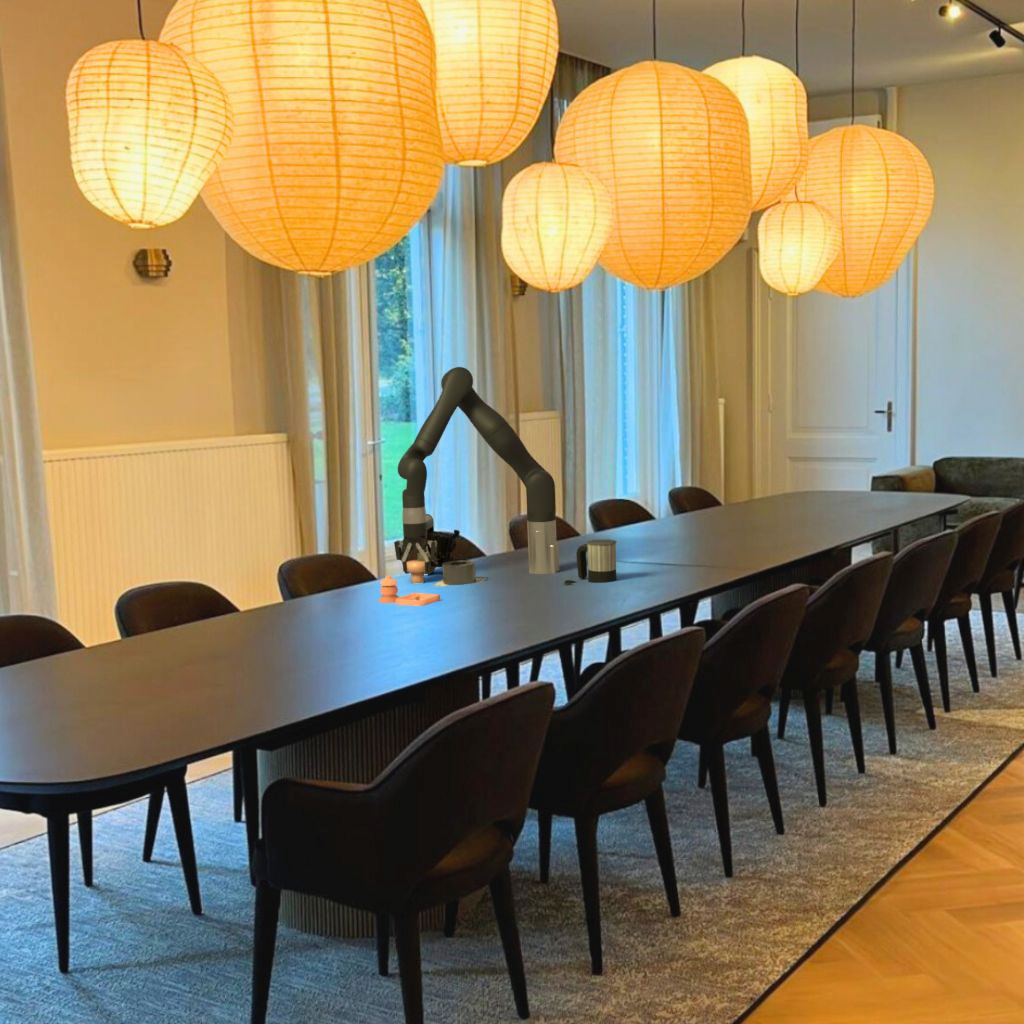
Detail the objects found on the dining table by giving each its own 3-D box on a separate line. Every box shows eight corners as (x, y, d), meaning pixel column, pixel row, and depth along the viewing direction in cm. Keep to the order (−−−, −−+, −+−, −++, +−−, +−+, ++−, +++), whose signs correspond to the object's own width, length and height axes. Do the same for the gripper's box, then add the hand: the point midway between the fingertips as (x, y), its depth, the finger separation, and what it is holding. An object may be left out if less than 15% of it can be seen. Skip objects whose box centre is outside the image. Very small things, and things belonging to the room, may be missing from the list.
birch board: (487, 582, 419) (487, 578, 419) (474, 591, 405) (474, 586, 405) (445, 582, 423) (445, 577, 422) (431, 590, 409) (431, 586, 409)
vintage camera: (463, 577, 430) (460, 517, 428) (418, 577, 433) (414, 517, 431) (470, 572, 440) (467, 513, 437) (425, 572, 443) (422, 513, 440)
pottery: (440, 608, 382) (439, 575, 381) (421, 615, 375) (420, 581, 373) (390, 604, 392) (389, 571, 391) (371, 610, 384) (369, 577, 383)
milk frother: (622, 587, 403) (621, 539, 401) (603, 597, 389) (602, 547, 387) (579, 585, 409) (578, 537, 407) (559, 594, 395) (557, 546, 393)
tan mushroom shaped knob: (430, 584, 420) (429, 559, 419) (424, 588, 414) (422, 563, 413) (412, 584, 422) (410, 559, 421) (405, 588, 416) (403, 563, 415)
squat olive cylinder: (479, 579, 417) (478, 560, 416) (469, 585, 408) (469, 566, 407) (449, 578, 420) (448, 560, 419) (439, 584, 411) (438, 565, 410)
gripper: (440, 519, 417) (442, 571, 419) (397, 519, 421) (400, 570, 423) (432, 522, 410) (434, 575, 412) (388, 522, 414) (391, 575, 416)
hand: (417, 573), depth 417 cm, fingers closed on tan mushroom shaped knob, 6 cm apart
